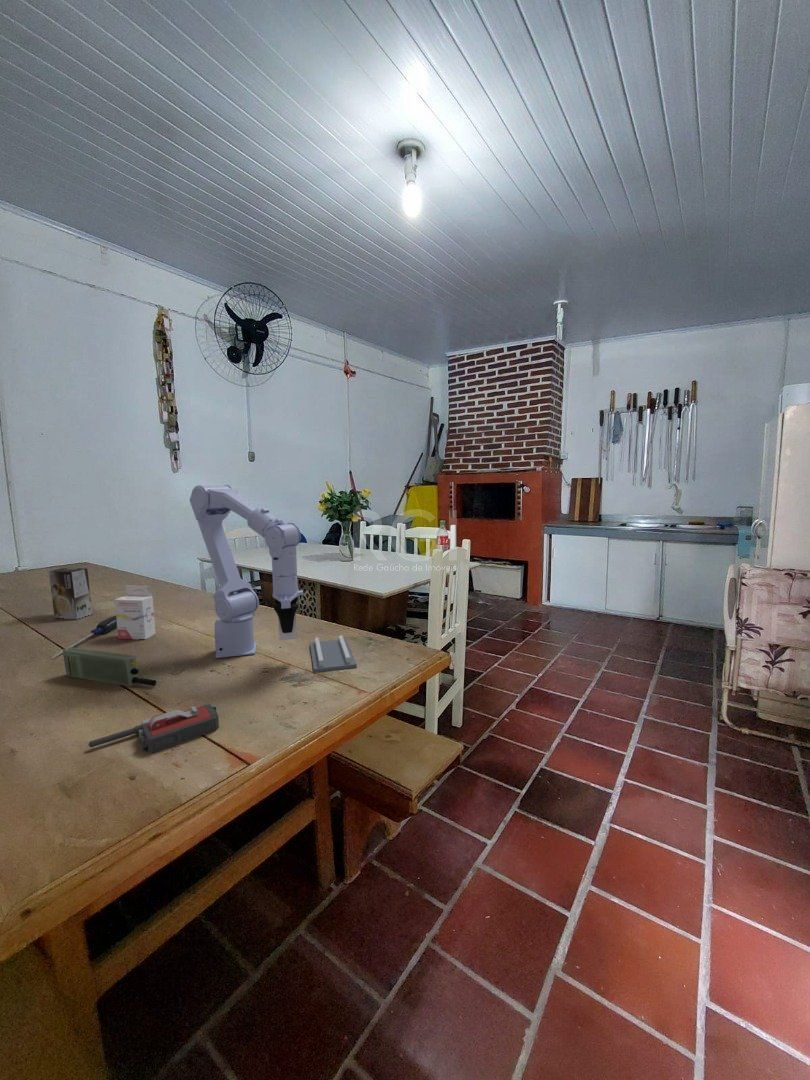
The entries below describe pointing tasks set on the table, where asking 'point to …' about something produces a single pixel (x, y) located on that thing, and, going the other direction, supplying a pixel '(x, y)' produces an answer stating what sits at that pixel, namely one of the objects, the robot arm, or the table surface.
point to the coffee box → (70, 593)
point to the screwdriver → (97, 631)
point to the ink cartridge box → (135, 613)
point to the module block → (288, 635)
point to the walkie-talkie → (170, 728)
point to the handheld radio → (103, 667)
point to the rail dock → (331, 655)
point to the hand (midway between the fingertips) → (287, 629)
